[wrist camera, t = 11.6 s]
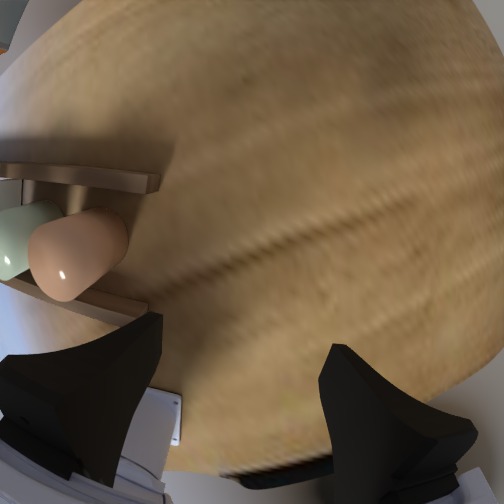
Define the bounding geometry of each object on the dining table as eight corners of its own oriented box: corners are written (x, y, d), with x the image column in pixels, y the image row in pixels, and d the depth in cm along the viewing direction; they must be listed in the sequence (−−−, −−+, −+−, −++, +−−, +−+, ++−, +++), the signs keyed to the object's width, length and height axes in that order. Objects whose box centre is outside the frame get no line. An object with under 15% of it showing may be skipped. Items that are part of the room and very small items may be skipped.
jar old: (66, 260, 21) (20, 287, 14) (30, 249, 20) (-16, 272, 14) (67, 203, 19) (14, 217, 13) (29, 197, 19) (-21, 210, 13)
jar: (128, 272, 21) (88, 309, 15) (78, 263, 21) (32, 292, 14) (129, 209, 19) (82, 227, 13) (77, 204, 19) (25, 220, 13)
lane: (147, 315, 22) (132, 339, 18) (-14, 262, 21) (-34, 272, 17) (160, 174, 19) (141, 176, 15) (-15, 161, 18) (-38, 164, 14)
